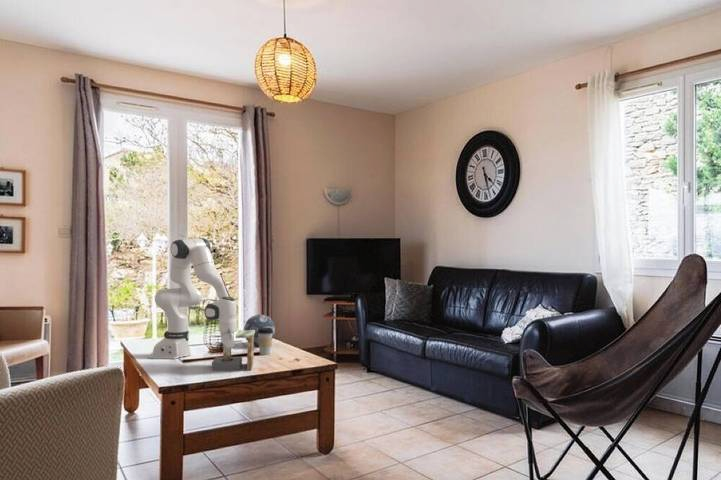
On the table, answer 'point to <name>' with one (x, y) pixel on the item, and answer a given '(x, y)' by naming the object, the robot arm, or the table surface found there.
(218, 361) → the socket
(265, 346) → the coffee cup
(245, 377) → the table surface
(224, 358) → the beech peg
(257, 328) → the decorative ball
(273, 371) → the table surface
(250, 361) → the awning
